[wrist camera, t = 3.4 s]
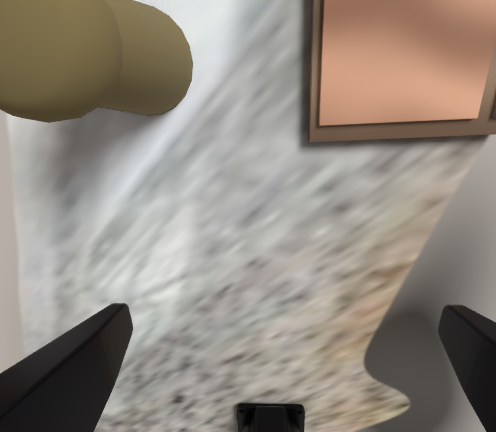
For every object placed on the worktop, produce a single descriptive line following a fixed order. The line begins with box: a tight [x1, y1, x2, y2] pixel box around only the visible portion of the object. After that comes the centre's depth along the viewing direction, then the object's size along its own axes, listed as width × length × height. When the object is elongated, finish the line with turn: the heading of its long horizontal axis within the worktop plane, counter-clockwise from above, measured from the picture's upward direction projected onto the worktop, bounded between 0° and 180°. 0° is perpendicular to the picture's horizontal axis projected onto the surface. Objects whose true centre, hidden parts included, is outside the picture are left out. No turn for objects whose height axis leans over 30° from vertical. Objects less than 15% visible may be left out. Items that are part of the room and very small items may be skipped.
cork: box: [0, 0, 193, 123], centre depth 13 cm, size 6×6×11 cm
